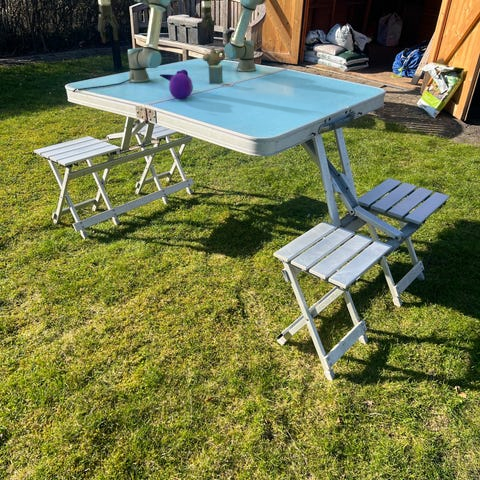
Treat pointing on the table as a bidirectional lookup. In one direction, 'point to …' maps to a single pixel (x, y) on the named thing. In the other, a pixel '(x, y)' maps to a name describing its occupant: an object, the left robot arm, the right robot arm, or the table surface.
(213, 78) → the block
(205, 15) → the right robot arm
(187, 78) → the toy
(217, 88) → the table surface
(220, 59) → the teapot
